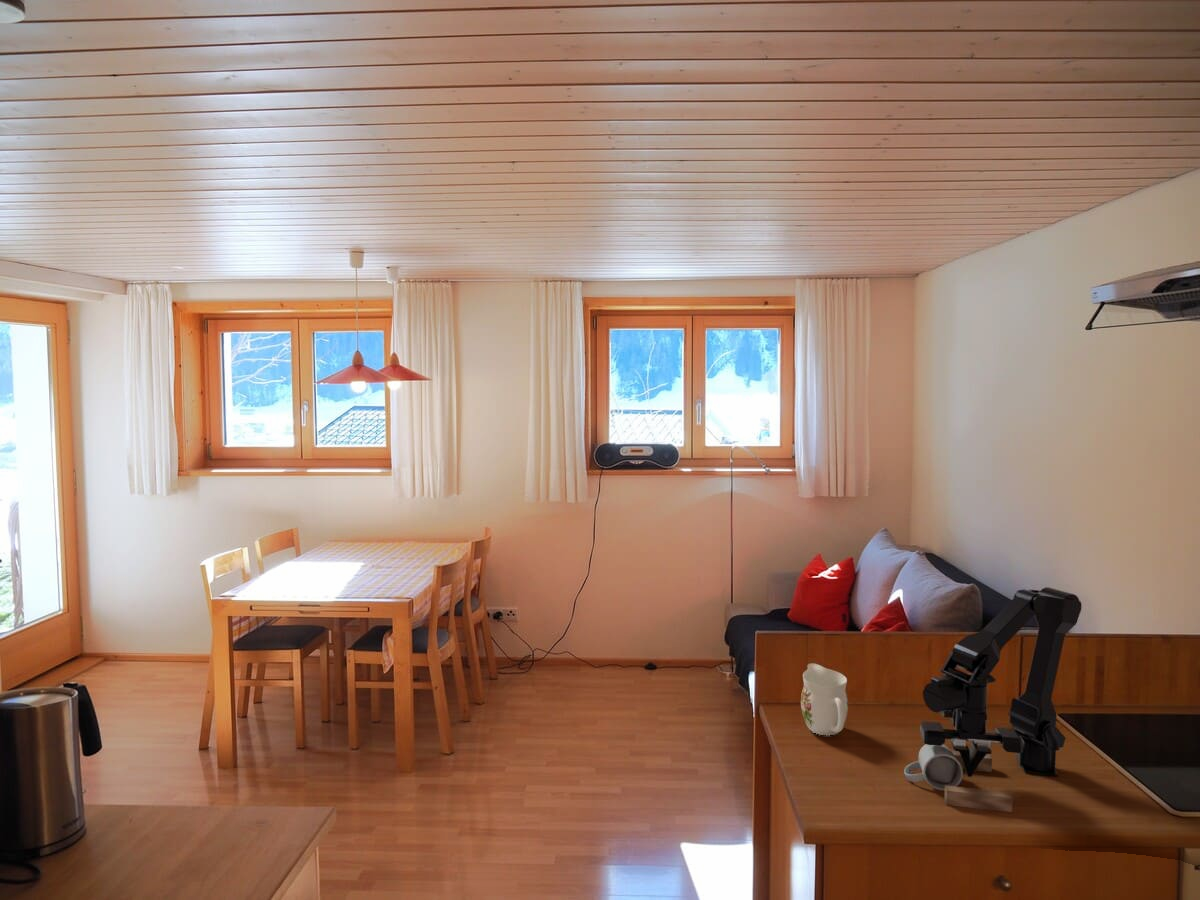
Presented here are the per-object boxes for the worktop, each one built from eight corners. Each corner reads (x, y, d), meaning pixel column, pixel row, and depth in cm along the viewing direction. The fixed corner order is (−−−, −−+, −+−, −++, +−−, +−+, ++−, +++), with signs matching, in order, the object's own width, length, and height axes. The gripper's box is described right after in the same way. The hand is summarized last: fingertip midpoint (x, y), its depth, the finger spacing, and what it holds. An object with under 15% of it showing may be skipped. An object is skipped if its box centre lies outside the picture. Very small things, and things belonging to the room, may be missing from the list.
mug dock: (989, 767, 169) (989, 754, 169) (1012, 812, 152) (1012, 797, 152) (930, 761, 172) (930, 748, 172) (946, 804, 155) (946, 790, 154)
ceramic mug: (952, 772, 167) (952, 738, 166) (963, 792, 159) (963, 756, 158) (900, 769, 169) (900, 735, 168) (908, 789, 161) (909, 753, 160)
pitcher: (819, 751, 177) (820, 693, 176) (789, 717, 195) (790, 664, 194) (864, 747, 179) (865, 690, 178) (831, 714, 197) (832, 661, 195)
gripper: (1009, 692, 166) (1006, 761, 167) (916, 685, 170) (914, 753, 172) (1025, 713, 155) (1022, 788, 157) (925, 706, 159) (923, 778, 161)
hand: (968, 775), depth 162 cm, fingers closed
